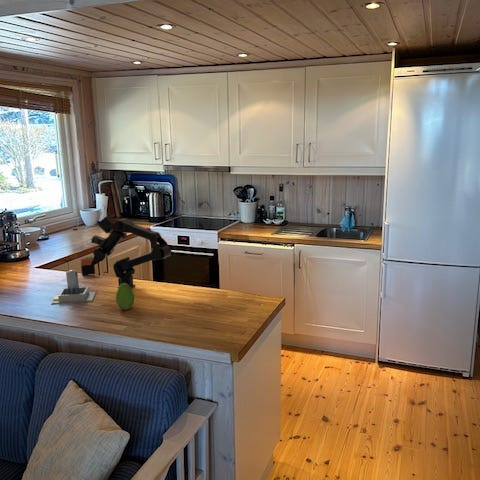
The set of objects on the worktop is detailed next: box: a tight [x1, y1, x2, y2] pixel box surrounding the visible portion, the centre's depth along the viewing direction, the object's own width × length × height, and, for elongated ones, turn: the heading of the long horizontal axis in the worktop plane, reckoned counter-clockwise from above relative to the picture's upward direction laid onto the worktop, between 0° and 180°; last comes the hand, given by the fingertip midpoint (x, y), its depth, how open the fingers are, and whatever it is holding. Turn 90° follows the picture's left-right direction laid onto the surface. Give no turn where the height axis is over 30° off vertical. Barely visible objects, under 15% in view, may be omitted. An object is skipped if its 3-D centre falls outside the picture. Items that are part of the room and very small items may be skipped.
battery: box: [80, 255, 96, 276], centre depth 266 cm, size 4×7×10 cm, turn 114°
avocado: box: [115, 283, 135, 311], centre depth 209 cm, size 8×8×12 cm
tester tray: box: [51, 286, 97, 305], centre depth 226 cm, size 18×13×4 cm
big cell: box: [65, 269, 80, 295], centre depth 225 cm, size 5×5×13 cm
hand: (94, 263), depth 240 cm, fingers open, 9 cm apart
